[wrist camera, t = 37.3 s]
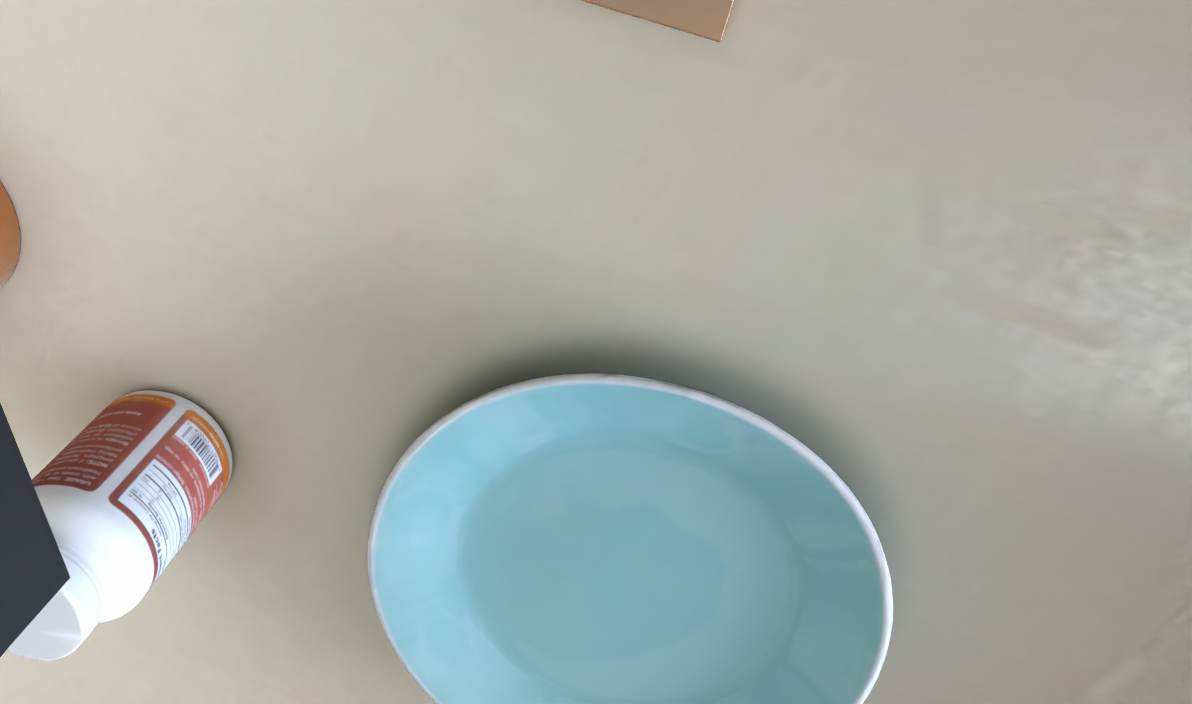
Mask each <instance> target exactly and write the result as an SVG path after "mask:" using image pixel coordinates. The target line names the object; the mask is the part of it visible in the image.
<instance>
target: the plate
mask: <svg viewBox="0 0 1192 704" xmlns="http://www.w3.org/2000/svg"><path fill="white" fill-rule="evenodd" d="M367 564H368V579H369V584H370V589H371V594H372V598H373V602H374V606H375V609H376V612H377V615H378V618H379V620H380V623H381V625H382V627H383V629H384V631H385V634H386V636H387V638H388V640H389V642H390V644H391V646H392V648H393V649H394V651H395V653H396V654H397V656H398V658H399V659H400V661H401V662H402V664H403V665H404V667H405V668H406V670H407V671H408V672H409V674H410V675H411V676H412V678H413V679H414V680H415V681H416V682H417V684H418V685H419V686H420V687H421V688H422V689H423V690H424V691H425V693H426V694H427V695H428V696H429V697H430V698H431V699H432V700H433V701H434V702H435V703H436V704H862V703H863V702H864V700H865V699H866V697H867V696H868V694H869V693H870V691H871V690H872V688H873V686H874V684H875V682H876V680H877V678H878V675H879V673H880V670H881V668H882V665H883V662H884V659H885V656H886V653H887V649H888V645H889V640H890V635H891V629H892V621H893V596H892V587H891V578H890V574H889V569H888V565H887V561H886V558H885V555H884V551H883V548H882V545H881V543H880V540H879V538H878V535H877V533H876V530H875V528H874V526H873V524H872V522H871V521H870V519H869V517H868V516H867V514H866V512H865V511H864V509H863V507H862V506H861V504H860V503H859V501H858V500H857V499H856V497H855V496H854V494H853V493H852V491H851V490H850V489H849V488H848V486H847V485H846V484H845V483H844V482H843V481H842V479H841V478H840V477H839V476H838V475H837V474H836V473H835V472H834V471H833V469H831V468H830V467H829V466H828V465H827V464H826V463H825V462H824V461H823V460H822V459H821V458H820V457H818V456H817V455H816V454H815V453H814V452H812V451H811V450H810V449H809V448H808V447H806V446H805V445H804V444H803V443H801V442H800V441H799V440H797V439H796V438H794V437H793V436H791V435H790V434H788V433H787V432H785V431H784V430H782V429H781V428H779V427H778V426H776V425H775V424H773V423H771V422H770V421H768V420H766V419H764V418H763V417H761V416H759V415H757V414H756V413H753V412H751V411H749V410H747V409H745V408H743V407H741V406H739V405H737V404H735V403H732V402H730V401H727V400H725V399H722V398H720V397H717V396H715V395H712V394H710V393H706V392H703V391H700V390H696V389H693V388H690V387H687V386H683V385H679V384H675V383H671V382H666V381H662V380H657V379H651V378H644V377H638V376H629V375H618V374H597V373H586V374H566V375H556V376H547V377H542V378H536V379H530V380H526V381H522V382H518V383H514V384H510V385H507V386H504V387H501V388H498V389H495V390H492V391H490V392H487V393H485V394H483V395H481V396H478V397H476V398H474V399H472V400H470V401H468V402H466V403H464V404H462V405H460V406H459V407H457V408H456V409H454V410H452V411H451V412H449V413H447V414H446V415H444V416H443V417H442V418H440V419H439V420H438V421H437V422H435V423H434V424H433V425H431V426H430V427H429V428H428V429H427V430H425V431H424V432H423V433H422V434H421V435H420V436H418V437H417V438H416V439H415V441H414V442H413V443H412V444H411V445H410V446H409V447H408V448H407V450H406V451H405V452H404V454H403V455H402V456H401V457H400V459H399V460H398V462H397V463H396V465H395V466H394V468H393V469H392V471H391V473H390V474H389V476H388V478H387V480H386V481H385V483H384V486H383V488H382V490H381V492H380V495H379V497H378V500H377V502H376V505H375V509H374V512H373V516H372V520H371V523H370V529H369V536H368V547H367Z"/></svg>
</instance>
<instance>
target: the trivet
mask: <svg viewBox="0 0 1192 704" xmlns="http://www.w3.org/2000/svg"><path fill="white" fill-rule="evenodd" d="M582 1H585V2H588V3H592V4H595V5H598V6H602V7H605V8H608V9H611V10H615V11H618V12H621V13H625V14H628V15H631V16H635V17H638V18H641V19H645V20H648V21H651V22H655V23H658V24H661V25H664V26H668V27H671V28H674V29H678V30H681V31H684V32H688V33H691V34H694V35H698V36H701V37H704V38H707V39H711V40H714V41H717V42H721V41H722V38H723V35H724V32H725V28H726V25H727V22H728V19H729V16H730V13H731V9H732V6H733V3H734V0H582Z"/></svg>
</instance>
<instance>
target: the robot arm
mask: <svg viewBox="0 0 1192 704" xmlns="http://www.w3.org/2000/svg"><path fill="white" fill-rule="evenodd" d="M70 578H71V577H70V575H69V572H68V570H67V567H66V565H65V562H64V560H63V557H62V555H61V553H60V550H59V548H58V545H57V543H56V540H55V538H54V535H53V533H52V530H51V528H50V525H49V523H48V520H47V518H46V515H45V513H44V510H43V508H42V505H41V503H40V500H39V498H38V495H37V493H36V490H35V488H34V485H33V483H32V481H31V478H30V476H29V473H28V471H27V468H26V466H25V463H24V461H23V458H22V456H21V453H20V451H19V448H18V446H17V443H16V441H15V438H14V436H13V433H12V431H11V428H10V426H9V423H8V421H7V418H6V416H5V414H4V411H3V409H2V406H1V404H0V657H1V656H2V654H3V653H4V652H5V651H6V650H7V649H8V648H9V647H10V645H11V644H12V643H13V642H14V641H15V640H16V639H17V637H18V636H19V635H20V634H21V633H22V632H23V631H24V630H25V628H26V627H27V626H28V625H29V624H30V623H31V622H32V621H33V619H34V618H35V617H36V616H37V615H38V614H39V613H40V611H41V610H42V609H43V608H44V607H45V606H46V605H47V604H48V602H49V601H50V600H51V599H52V598H53V597H54V596H55V594H56V593H57V592H58V591H59V590H60V589H61V588H62V587H63V585H64V584H65V583H66V582H67V581H68V580H69V579H70Z"/></svg>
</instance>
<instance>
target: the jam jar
mask: <svg viewBox="0 0 1192 704" xmlns="http://www.w3.org/2000/svg"><path fill="white" fill-rule="evenodd" d="M20 241H21V240H20V229H19V224H18V219H17V216H16V213H15V210H14V207H13V204H12V202H11V200H10V198H9V196H8V193H7V192H6V190H5V188H4V187H3V185H2V183H1V182H0V288H1V287H2V286H3V285H4V284H5V283H6V282H7V281H8V280H9V278H10V277H11V275H12V274H13V272H14V270H15V267H16V265H17V262H18V258H19V253H20Z"/></svg>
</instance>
